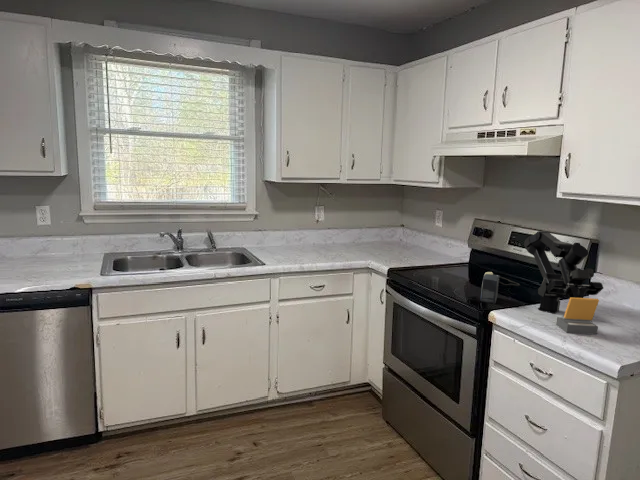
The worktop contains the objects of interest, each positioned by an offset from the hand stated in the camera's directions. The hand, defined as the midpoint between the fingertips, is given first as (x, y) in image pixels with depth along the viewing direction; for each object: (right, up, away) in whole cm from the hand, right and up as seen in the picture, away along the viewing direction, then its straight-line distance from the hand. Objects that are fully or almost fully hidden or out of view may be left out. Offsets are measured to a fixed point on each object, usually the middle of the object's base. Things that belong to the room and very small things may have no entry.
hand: (580, 307), depth 169 cm
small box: (-21, -2, +35) cm, 41 cm away
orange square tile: (0, -5, +2) cm, 5 cm away
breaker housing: (0, -9, +2) cm, 9 cm away
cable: (-3, +3, +69) cm, 69 cm away
